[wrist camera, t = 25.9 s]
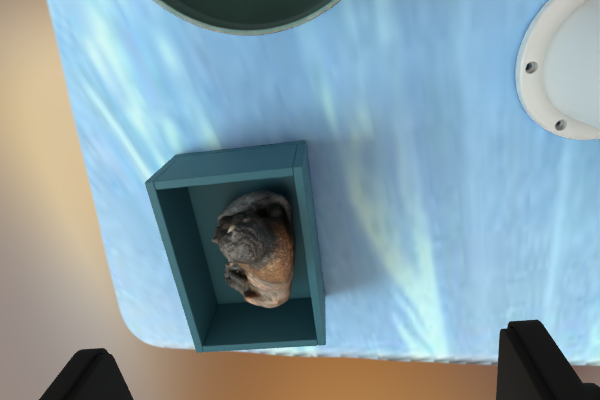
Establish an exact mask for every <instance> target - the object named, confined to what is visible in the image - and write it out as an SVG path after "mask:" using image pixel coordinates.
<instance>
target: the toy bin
mask: <svg viewBox="0 0 600 400" xmlns="http://www.w3.org/2000/svg"><path fill="white" fill-rule="evenodd" d="M145 185H146V188H147V192H148V195H149V198H150V201H151V205H152V208H153V211H154V214H155V218H156V221H157V224H158V228H159V231H160V234H161V237H162V241H163V244H164V247H165V250H166V254H167V257H168V260H169V263H170V267H171V270H172V273H173V277H174V280H175V283H176V286H177V290H178V293H179V296H180V299H181V303H182V306H183V309H184V312H185V316H186V319H187V322H188V326H189V329H190V332H191V335H192V339H193V342H194V345H195V348H196V352H197V353H198V352H214V351H231V350H248V349H266V348H283V347H300V346H317V345H325V344H326V328H325V291H324V283H323V275H322V267H321V259H320V251H319V243H318V235H317V227H316V219H315V211H314V202H313V194H312V186H311V178H310V170H309V162H308V154H307V146H306V141H298V142H289V143H280V144H271V145H262V146H253V147H243V148H234V149H225V150H216V151H207V152H198V153H189V154H180V155H175V156H174V157H173V158H172V159H171V160H169V161H168V162H167V163H166V164H165V165H164V166H163V167H162V168H161V169H159V170H158V171H157V172H156V173H155V174H154V175H153V176H152V177H151V178H149V179H148V180H147V181H146V182H145ZM259 189H267V190H270V191H272V192H274V193H278V194H281V195H283V196H284V197H285V198H286V199H287V200H288V201H289V203H290V205H291V207H292V218H293V221H292V223H293V232H294V237H295V242H296V253H295V267H294V275H293V278H292V289H291V294H290V298H289V299H288V300H287V301H286V302H285V303H284V304H281V305H279V306H277V307H274V308H265V307H263V306H257V305H254V304H251V303H249V302H248V301H246V300H245V299H244V296H243V295H242V294H241V293H240V292H238V291H237V290H235V289H234V288H231V287H230V286H229V285H228V284H227V283H226V281H225V276H224V270H225V268H226V265H225V264H227V263H228V262H229V261H228V259H227V258H226V257H225V256H224V255H223V253H222V252H221V250H220V249H219V245H218V244H216V243H214V242H212V241H211V240H212V239H213V238H214V237H215V235H214V232H215V228H216V227H217V226H219V225H218V221H217V218H218V216H219V214H220V213H221V212H222V211H223V210H224V209H225V208H227V207H228V206H229V205H230V203H231V202H232V201H234V200H235V199H237V198H239V197H241V196H243V195H245V194H247V193H250V192H252V191H255V190H259Z"/></svg>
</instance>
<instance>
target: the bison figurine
mask: <svg viewBox="0 0 600 400" xmlns="http://www.w3.org/2000/svg"><path fill="white" fill-rule="evenodd" d="M217 221H218V225H219V226H217V227H216V228H215V232H214V235H215V237H214V238H213V239H212V240H211V241H212V242H214V243H216V244H218V245H219V249H220V250H221V252H222V253H223V255H224V256H225V257H226V258H227V259H228V261H229V262H228V263H227V264H225V265H226V268H225V270H224V276H225V281H226V283H227V284H228V285H229V286H230V287H231V288H234V289H235V290H237V291H238V292H240V293H241V294H242V295H243V296H244V299H245V300H246V301H248V302H249V303H251V304H254V305H257V306H263V307H265V308H274V307H277V306H279V305H281V304H284V303H285V302H286V301H287V300H288V299H289V298H290V294H291V289H292V278H293V275H294V267H295V253H296V242H295V237H294V232H293V223H292V221H293V218H292V207H291V205H290V203H289V201H288V200H287V199H286V198H285V197H284V196H283V195H281V194H278V193H274V192H272V191H270V190H267V189H259V190H255V191H252V192H250V193H247V194H245V195H243V196H241V197H239V198H237V199H235V200H234V201H232V202H231V203H230V205H229V206H228V207H227V208H225V209H224V210H223V211H222V212H221V213H220V214H219V216H218V218H217Z"/></svg>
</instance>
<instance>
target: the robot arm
mask: <svg viewBox="0 0 600 400" xmlns="http://www.w3.org/2000/svg"><path fill="white" fill-rule="evenodd" d="M527 64H529V68H528V69H526V66H527ZM515 77H516V89H517V92H518V96H519V100H520V102H521V104H522V106H523V108H524V109H525V111H526V113H527V114H528V115H529V116H530V117H531V118H532V120H533V121H534V122H535V123H537V124H538V125H540V126H541V127H542V128H544V129H545V130H547V131H549V132H551V133H553V134H556V135H558V136H562V137H565V138H569V139H577V140H592V139H600V0H549V1H548V2H547V3H546V4H545V5H544V6H543V7H542V8H541V10H540V11H539V12H538V14H537V15H536V16H535V18H534V19H533V21H532V22H531V24H530V26H529V28H528V30H527V32H526V34H525V36H524V37H523V40H522V43H521V46H520V49H519V52H518V55H517V62H516V69H515ZM557 122H558V123H557ZM556 123H557V124H556ZM497 375H498V376H497V394H496V400H600V387H599V386H597V385H596V384H594V383H582V381H581V380H580V379H579V377H578V376H577V374H576V373H575V371H574V370H573V368H572V367H571V365H570V364H569V362H568V361H567V359H566V358H565V356H564V355H563V353H562V352H561V350H560V349H559V348H558V346H557V345H556V343H555V342H554V340H553V339H552V337H551V336H550V334H549V333H548V331H547V330H546V328H545V327H544V325H543V324H542V323H541V322H540V321H539V320H526V321H511V322H509V323H508V328H507V329H501V330H500V338H499V356H498V374H497ZM39 400H133V398H132V396H131V393H130V391H129V389H128V387H127V385H126V383H125V381H124V378H123V376H122V374H121V372H120V370H119V368H118V366H117V363H116V361H115V359H114V357H113V356H112V355H111V354H109V353H108V352H107V350H105V349H104V348H98V349H83V350H79V351H78V352H77V353H75V354H74V356H73V357H72V358H71V359H70V361H69V362H68V363H67V364H66V366H65V367H64V368H63V370H62V371H61V372H60V373H59V375H58V376H57V377H56V379H55V380H54V381H53V382H52V384H51V385H50V386H49V388H48V389H47V390H46V392H45V393H44V394H43V395H42V397H41V398H40V399H39Z"/></svg>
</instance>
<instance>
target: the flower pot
mask: <svg viewBox="0 0 600 400" xmlns="http://www.w3.org/2000/svg"><path fill="white" fill-rule="evenodd" d="M153 1H154V2H156V3H157V4H159V5H160V6H161V7H163V8H164V9H166V10H167V11H169V12H170V13H172V14H174V15H175V16H177V17H179V18H181V19H183V20H185V21H187V22H189V23H192V24H194V25H196V26H199V27H202V28H205V29H208V30H212V31H215V32H220V33H226V34H233V35H249V36H250V35H264V34H271V33H276V32H280V31H283V30H287V29H290V28H293V27H296V26H299V25H301V24H303V23H306V22H308V21H310V20H312V19H314V18H316V17H318V16H319V15H321V14H323V13H324V12H326V11H327V10H329V9H330V8H332V7H333V6H334V5H336V4H337V3H338V2H339V1H341V0H153Z"/></svg>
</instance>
